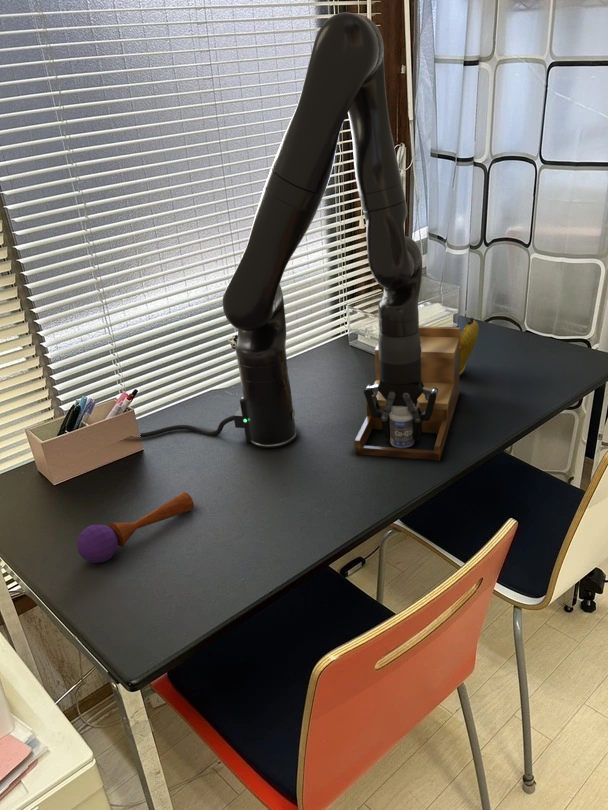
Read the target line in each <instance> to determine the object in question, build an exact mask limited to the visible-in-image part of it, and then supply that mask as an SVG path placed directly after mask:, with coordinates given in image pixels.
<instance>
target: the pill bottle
mask: <svg viewBox="0 0 608 810" xmlns="http://www.w3.org/2000/svg"><path fill="white" fill-rule="evenodd" d="M389 422H390V438H389V442H390V445H391V446H392V447H393V448H405V449H408V448H410V447H413V446H414V444H415V442H416V440H414V439H413V422H414V419H413V417H412V414H410V412H409V409H408V407H404V406H392V407H391V412H390V415H389Z"/></svg>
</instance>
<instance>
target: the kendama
mask: <svg viewBox="0 0 608 810" xmlns="http://www.w3.org/2000/svg"><path fill="white" fill-rule="evenodd" d="M194 508H195V504H194V500H193V498H192V496H191V495H190V494H189V492H186V491H183V492H182V493H180V494H178V495H177V496H175V497H174V498H172V499H170V500H169V501H167V502H165V503H163V504H162V505H160V506H159V507H157V508H156V509H153V510H152V511H151V512H149V513H148V514H145V515H144V516H142V517H141V518H139V519H138V520H136V521H134V522H109V524H108V526H107V525H105V524H91V525H89V526H87V527H85V528H84V529H83V530H82V531H81V532H80V534H79V535H78V538H77V541H76V548H77V552H78V554H79V555H80V556H81V557H82V559H83V560H85V561H87V562H90V563H92V564H103V563H104V562H105V563H106V562H107V561H108V560H110V559H111V558H112V557H113V556H114V555H115V553H116V552H117V549H118V547H120V548H123V547H124V546H125V544H126V543H127V542H128V540H129V539H130V538H131V537H132V536H133V534H134V533H135V532H136V531H137V529H141V528H143V527H147V526H149V525H152V524H155V523H158V522H161V521H164V520H167V519H170V518H173V517H176V516H178V515H182V514H184V513H187V512H190V511H193V510H194Z"/></svg>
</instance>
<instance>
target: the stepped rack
mask: <svg viewBox="0 0 608 810" xmlns="http://www.w3.org/2000/svg"><path fill="white" fill-rule="evenodd" d="M460 334H461V327H459V326H457V327H456V326H425V325H423V326H422V325H419V335H420V342H421V381H422V383H423V385H424V387H427V388H430V389H432V388H434V387H436V388H437V389H438V394H437V397H436V401H435V404H434V408H433V411H432V415H431V417H430V420H429V421H422V433H426V434H428V433H429V434H437V437H436V440H435V443H434V446H433V450H432V449H416V448H396V447H391V446H390V447H389V446H376V445H375V446H374V445H366V444H367V441H368V439H369V437H370V436H371V433H372V431H373V430H381V431H382V421H381V419H380V418H378V417H376V418H374V417H372V415H371V412H370V409H369V406H368V403H367V400H366V399H365V405H366V417H365V418H364V420H363V423H362V425H361V427H360V428H359V431H358V433H357V435H356V437H355V439H354V453H355V455H360V456H361V455H363V456H376V457H388V458H400V459H401V458H402V459H415V460H430V461H440V460H441V457H442V454H443V451H444V447H445V444H446V440H447V437H448V434H449V430H450V428H451V427H450V426H451V423H452V419H453V416H454V412H455V409H456V405H457V402H458V399H459V396H460V376H459V369H460V336H461V335H460ZM374 364H375V366H374V367H375V381H374V382H373V384H372V385H373V386H374V385H379V383H380V369H379V349H378V344H377V345H376V347H375V349H374ZM376 397H377V400H378V403H379V406H380V409H382V410H384V407H385V404H386V400H385V398H384V397H383V396H382V395H381V393H380V392H379V391H378V394H377V396H376ZM418 401H419V406H420V409H421V411H422V412H424V411H426V407H427V404H428V401H427V400H426V399H425V395H424V394H423V393H422V394H421V395H420V397H419V398H418ZM390 412H391V411H390ZM389 415H390V414H389Z"/></svg>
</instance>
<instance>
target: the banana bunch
mask: <svg viewBox="0 0 608 810" xmlns="http://www.w3.org/2000/svg"><path fill="white" fill-rule="evenodd" d="M479 328H480V327H479V324H478V322H477V321H476V320H475V319H474V317H473V316H471V317H470V318H469V320H468V321H467V323H466V325H465V326H464V328H463V329H462V331H461V332H460V369H459V377H461V376H462V374H463V373H464V372H465V369H466V367H467V362H468V360H469V358H470V356H471V355H472V352H473V350H474V347H475V345H476V343H477V340H478V336H479V330H480V329H479Z"/></svg>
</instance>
